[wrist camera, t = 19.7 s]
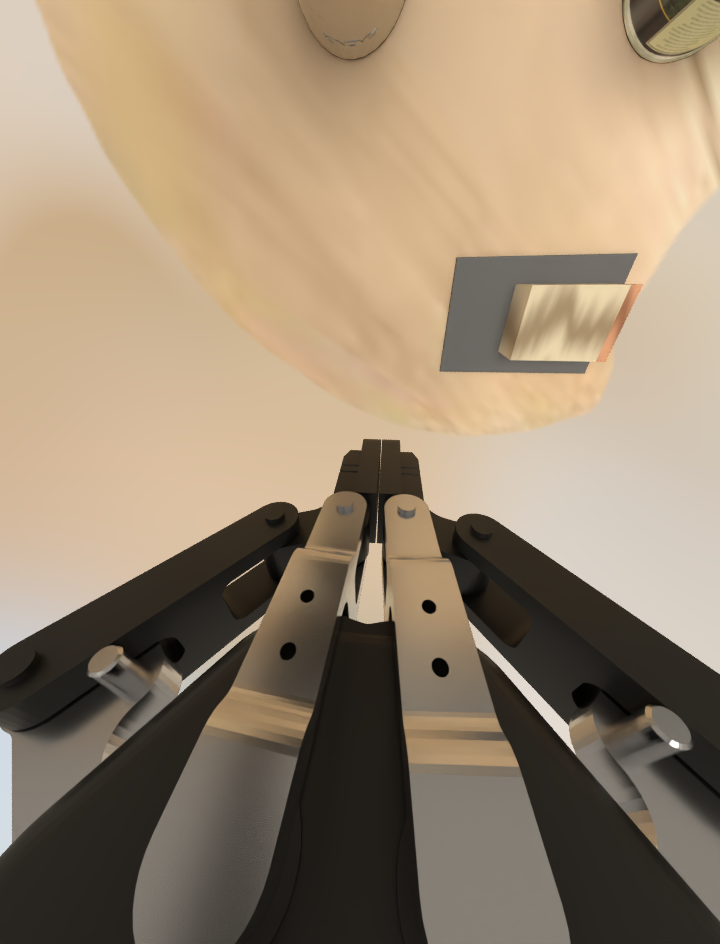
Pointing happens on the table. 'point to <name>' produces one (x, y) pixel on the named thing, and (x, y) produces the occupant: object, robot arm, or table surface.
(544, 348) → the block
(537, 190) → the table surface
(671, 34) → the coffee can
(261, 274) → the table surface
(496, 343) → the mat
